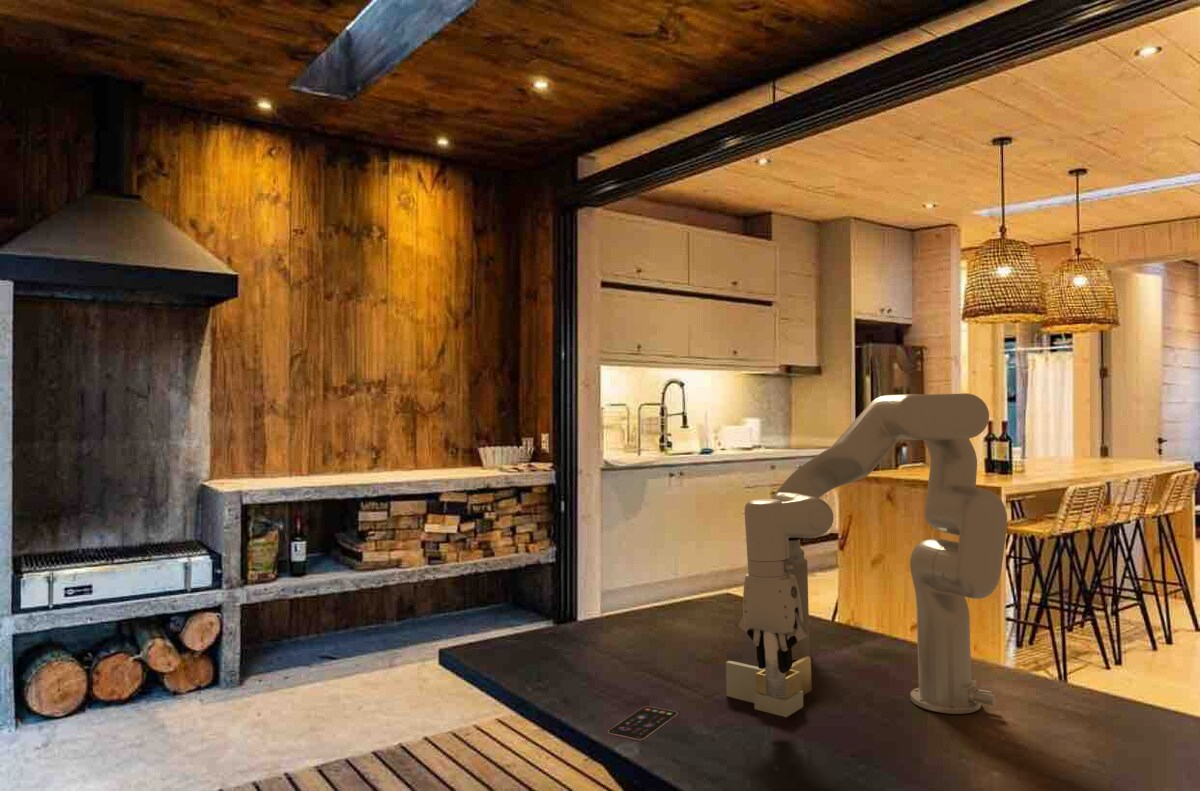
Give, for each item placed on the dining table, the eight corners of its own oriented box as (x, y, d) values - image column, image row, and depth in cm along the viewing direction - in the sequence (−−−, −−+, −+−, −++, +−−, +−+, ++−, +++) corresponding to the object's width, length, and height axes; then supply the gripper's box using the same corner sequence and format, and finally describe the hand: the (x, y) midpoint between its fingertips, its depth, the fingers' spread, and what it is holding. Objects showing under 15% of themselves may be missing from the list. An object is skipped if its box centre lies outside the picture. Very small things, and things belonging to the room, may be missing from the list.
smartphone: (679, 712, 154) (641, 740, 142) (679, 715, 154) (641, 743, 142) (645, 705, 158) (605, 732, 146) (645, 708, 158) (605, 735, 146)
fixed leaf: (823, 693, 164) (822, 659, 164) (785, 716, 152) (784, 680, 152) (795, 686, 168) (794, 653, 168) (756, 708, 156) (755, 673, 156)
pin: (790, 693, 147) (785, 621, 147) (780, 699, 144) (776, 626, 144) (772, 689, 149) (768, 619, 149) (762, 695, 146) (758, 623, 146)
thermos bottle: (772, 649, 194) (770, 532, 194) (806, 649, 193) (803, 532, 193) (776, 659, 186) (774, 537, 186) (812, 660, 185) (809, 537, 186)
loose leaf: (803, 706, 156) (802, 671, 157) (786, 717, 151) (785, 680, 151) (737, 690, 166) (736, 657, 166) (719, 699, 161) (718, 665, 161)
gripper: (820, 567, 144) (827, 670, 144) (740, 560, 155) (746, 655, 155) (801, 576, 138) (807, 683, 138) (718, 567, 149) (724, 666, 149)
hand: (775, 667), depth 146 cm, fingers closed on pin, 3 cm apart
